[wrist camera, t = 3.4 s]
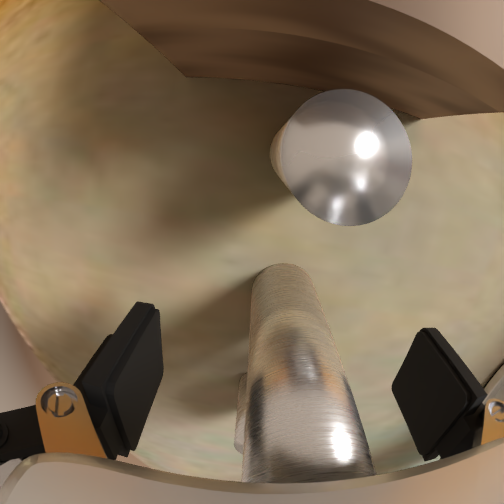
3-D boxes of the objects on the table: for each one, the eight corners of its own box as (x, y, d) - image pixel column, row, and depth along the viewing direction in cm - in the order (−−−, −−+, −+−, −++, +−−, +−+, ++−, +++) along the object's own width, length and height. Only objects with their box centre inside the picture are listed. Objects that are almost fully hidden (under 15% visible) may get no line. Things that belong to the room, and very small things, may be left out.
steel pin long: (325, 290, 14) (408, 509, 3) (282, 328, 15) (302, 545, 4) (283, 250, 13) (332, 502, 3) (238, 293, 14) (208, 531, 4)
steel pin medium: (352, 155, 12) (433, 163, 5) (305, 202, 12) (348, 252, 6) (303, 106, 11) (346, 63, 5) (255, 155, 12) (250, 156, 6)
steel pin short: (299, 384, 16) (307, 443, 12) (264, 406, 17) (265, 463, 12) (263, 359, 15) (264, 422, 11) (228, 385, 16) (221, 444, 12)
